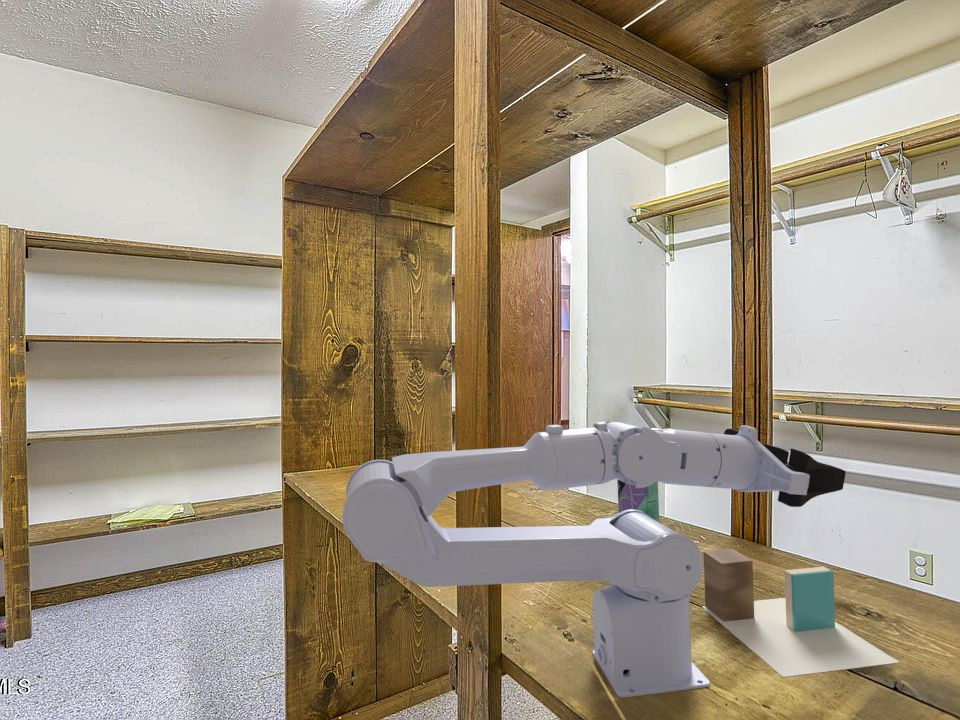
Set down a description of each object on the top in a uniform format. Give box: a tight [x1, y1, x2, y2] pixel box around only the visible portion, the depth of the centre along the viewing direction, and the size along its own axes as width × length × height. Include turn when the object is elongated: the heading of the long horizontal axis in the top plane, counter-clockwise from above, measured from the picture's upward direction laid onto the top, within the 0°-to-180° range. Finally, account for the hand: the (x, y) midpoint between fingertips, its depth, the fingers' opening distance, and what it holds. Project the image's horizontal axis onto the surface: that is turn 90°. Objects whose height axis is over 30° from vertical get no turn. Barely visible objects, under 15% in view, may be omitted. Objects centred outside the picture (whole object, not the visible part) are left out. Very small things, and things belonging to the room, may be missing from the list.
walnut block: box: [702, 548, 755, 622], centre depth 66 cm, size 4×4×7 cm
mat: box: [701, 597, 900, 678], centre depth 61 cm, size 13×15×1 cm
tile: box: [784, 566, 836, 632], centre depth 62 cm, size 5×2×6 cm, turn 97°
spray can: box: [616, 479, 660, 523], centre depth 75 cm, size 6×6×20 cm
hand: (811, 468), depth 59 cm, fingers open, 7 cm apart
